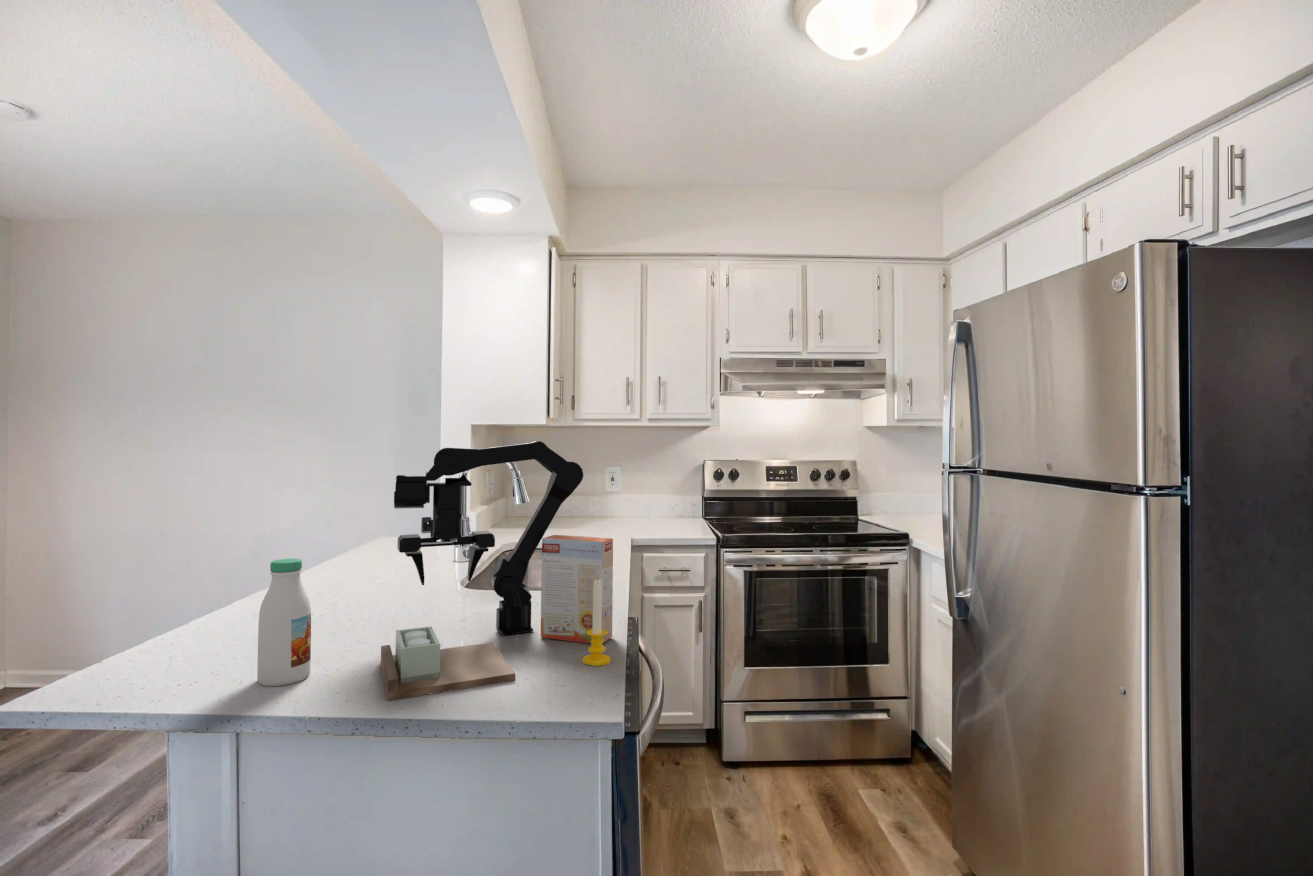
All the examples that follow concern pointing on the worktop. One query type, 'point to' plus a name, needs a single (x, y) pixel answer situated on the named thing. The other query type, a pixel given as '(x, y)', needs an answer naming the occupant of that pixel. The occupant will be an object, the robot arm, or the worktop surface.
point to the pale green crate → (417, 654)
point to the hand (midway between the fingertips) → (446, 582)
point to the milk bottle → (284, 627)
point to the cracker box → (575, 586)
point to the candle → (597, 631)
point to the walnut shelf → (449, 671)
